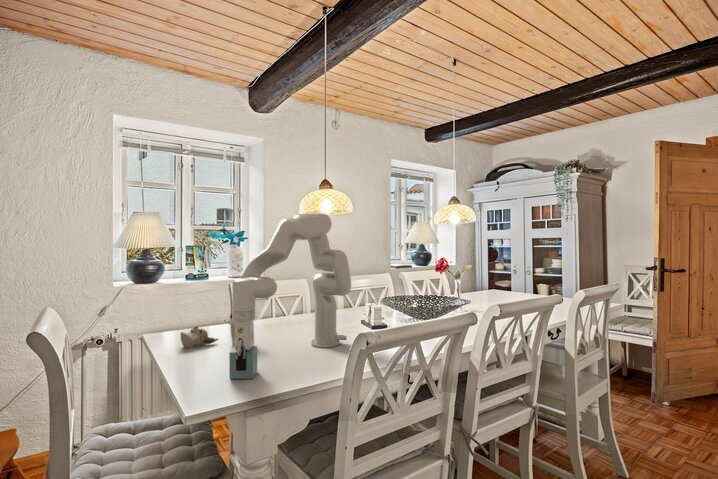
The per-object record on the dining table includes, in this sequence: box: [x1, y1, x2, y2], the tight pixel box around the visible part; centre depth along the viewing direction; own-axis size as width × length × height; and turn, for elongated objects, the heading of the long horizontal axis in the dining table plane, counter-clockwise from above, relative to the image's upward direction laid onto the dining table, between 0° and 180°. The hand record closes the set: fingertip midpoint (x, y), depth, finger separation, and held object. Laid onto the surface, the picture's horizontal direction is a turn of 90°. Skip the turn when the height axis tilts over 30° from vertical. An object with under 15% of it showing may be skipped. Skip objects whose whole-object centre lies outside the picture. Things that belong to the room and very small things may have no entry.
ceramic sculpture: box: [180, 326, 219, 349], centre depth 173 cm, size 11×9×15 cm
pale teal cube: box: [228, 345, 258, 380], centre depth 136 cm, size 8×8×9 cm
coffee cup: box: [229, 313, 235, 348], centre depth 174 cm, size 9×9×15 cm
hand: (243, 365), depth 137 cm, fingers closed on pale teal cube, 7 cm apart
